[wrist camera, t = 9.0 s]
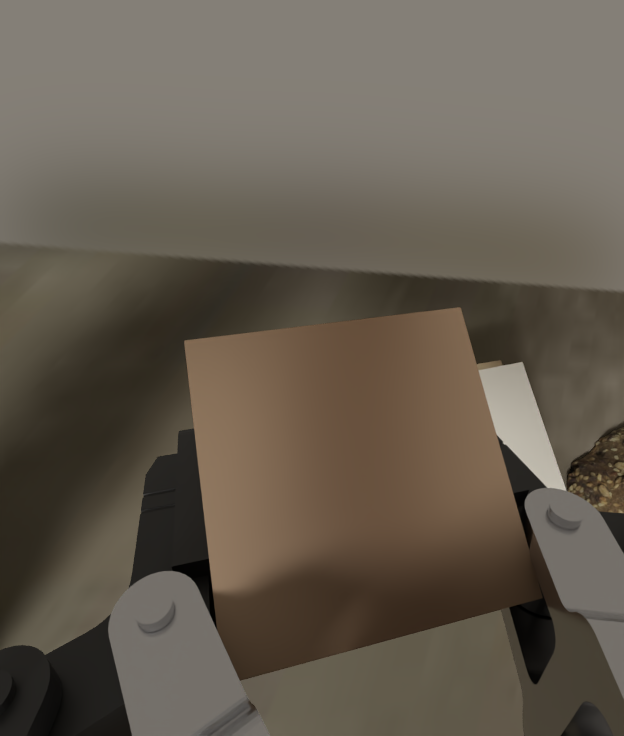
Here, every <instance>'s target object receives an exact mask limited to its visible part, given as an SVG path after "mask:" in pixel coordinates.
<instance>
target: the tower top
mask: <svg viewBox="0 0 624 736" xmlns="http://www.w3.org/2000/svg"><path fill="white" fill-rule="evenodd" d="M478 371H479V374H480V378H481V381H482V385H483V388H484V392H485V396H486V399H487V403H488V406H489V410H490V413H491V417H492V420H493V424H494V427H495V431H496V434H497V436H498V437H499V438H500V439H501V440H502V441H503V444H504V445H505V444H506V445H507V446H508V447H509V448H510V449H511V450H512V451H513V452H514V453H515V454H516V455H517V456H518V458H519V459H520V460H521V461H522V462H523V463H524V464H525V465H526V466H527V467H528V468H529V469H530V470H531V471H532V472H533V473H534V474H535V475H536V476H537V477H538V478H539V479H540V480H541V482H542V483H543V484H544V485H545V486H546V487H547V488H555V489H561V490H565V491H566V488H565V485H564V482H563V480H562V477H561V474H560V471H559V468H558V465H557V462H556V459H555V456H554V453H553V450H552V447H551V444H550V441H549V439H548V436H547V433H546V430H545V427H544V424H543V421H542V418H541V415H540V412H539V409H538V406H537V403H536V400H535V398H534V395H533V392H532V389H531V386H530V383H529V380H528V377H527V374H526V371H525V368H524V365H523V362H519V363H514V364H509V365H504V366H498V367H493V368H488V369H482V370H478Z"/></svg>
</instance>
